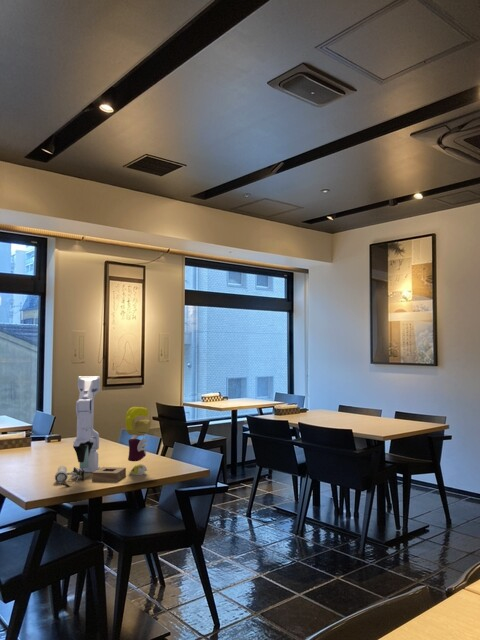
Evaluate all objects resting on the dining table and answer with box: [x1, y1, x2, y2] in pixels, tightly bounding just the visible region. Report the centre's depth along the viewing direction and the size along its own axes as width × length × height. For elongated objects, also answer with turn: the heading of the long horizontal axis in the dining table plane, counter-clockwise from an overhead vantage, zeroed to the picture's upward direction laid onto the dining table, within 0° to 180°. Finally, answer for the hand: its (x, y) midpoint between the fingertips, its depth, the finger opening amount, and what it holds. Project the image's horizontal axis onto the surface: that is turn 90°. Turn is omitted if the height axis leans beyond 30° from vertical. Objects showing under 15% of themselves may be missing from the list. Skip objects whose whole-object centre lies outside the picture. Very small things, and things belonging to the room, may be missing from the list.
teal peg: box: [79, 447, 89, 468], centre depth 210 cm, size 4×4×9 cm
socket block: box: [91, 466, 127, 482], centre depth 220 cm, size 11×11×4 cm
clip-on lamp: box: [54, 465, 86, 488], centre depth 213 cm, size 12×6×18 cm
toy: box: [124, 406, 152, 476], centre depth 234 cm, size 22×12×30 cm, turn 9°
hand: (83, 461), depth 210 cm, fingers closed on teal peg, 4 cm apart
